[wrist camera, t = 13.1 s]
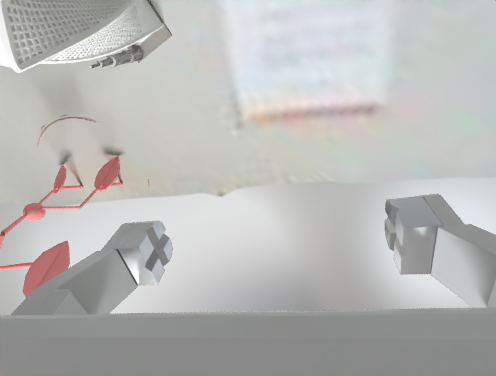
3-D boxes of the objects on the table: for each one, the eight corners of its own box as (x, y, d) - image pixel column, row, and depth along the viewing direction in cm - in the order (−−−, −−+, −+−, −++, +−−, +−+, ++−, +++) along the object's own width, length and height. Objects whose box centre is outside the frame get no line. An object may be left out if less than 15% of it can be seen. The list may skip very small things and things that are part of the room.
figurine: (162, 185, 56) (9, 375, 26) (50, 192, 61) (-187, 359, 31) (136, 106, 49) (-120, 244, 19) (11, 122, 54) (-350, 250, 24)
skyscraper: (100, 8, 42) (-155, 5, 18) (138, -31, 38) (-108, -96, 15) (139, 62, 45) (-33, 119, 21) (178, 30, 42) (27, 55, 18)
